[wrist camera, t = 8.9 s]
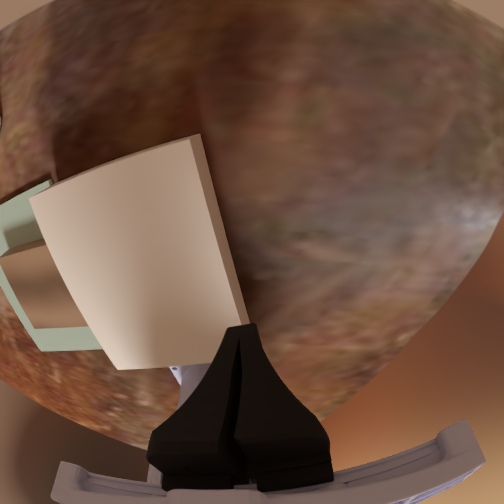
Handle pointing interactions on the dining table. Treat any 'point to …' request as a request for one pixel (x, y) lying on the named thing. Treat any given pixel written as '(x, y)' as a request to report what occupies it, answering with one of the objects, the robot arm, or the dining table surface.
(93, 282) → the cream flat block
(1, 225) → the mat
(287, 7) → the dining table surface
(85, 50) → the dining table surface
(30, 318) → the walnut tile
